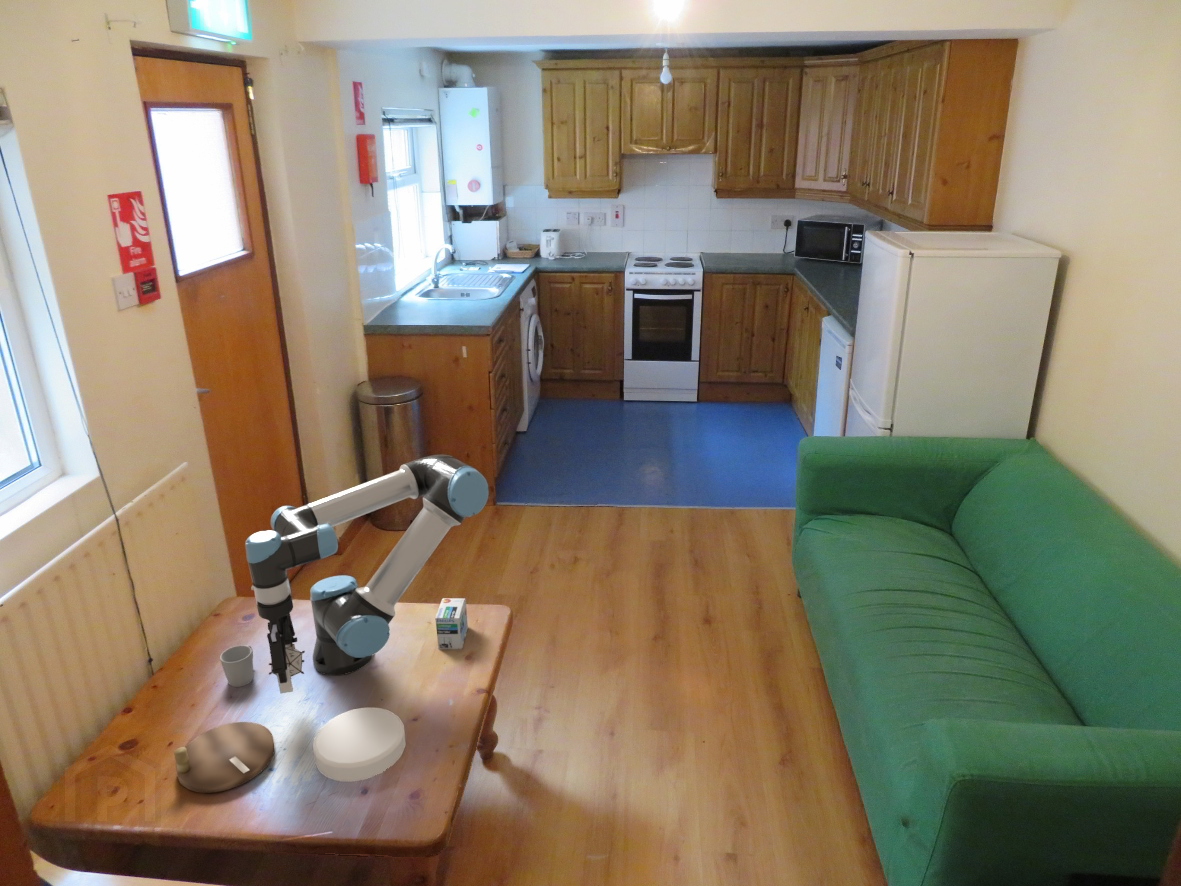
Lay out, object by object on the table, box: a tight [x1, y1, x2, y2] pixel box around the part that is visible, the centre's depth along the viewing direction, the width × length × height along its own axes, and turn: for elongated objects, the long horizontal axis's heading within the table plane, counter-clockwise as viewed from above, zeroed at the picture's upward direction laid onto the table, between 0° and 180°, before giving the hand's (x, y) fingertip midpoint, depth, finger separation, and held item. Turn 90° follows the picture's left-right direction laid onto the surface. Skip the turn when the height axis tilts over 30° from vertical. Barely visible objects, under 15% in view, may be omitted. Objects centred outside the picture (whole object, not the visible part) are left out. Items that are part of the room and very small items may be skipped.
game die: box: [268, 643, 306, 680], centre depth 192 cm, size 9×8×10 cm
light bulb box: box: [434, 597, 469, 650], centre depth 223 cm, size 11×7×11 cm, turn 179°
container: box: [312, 707, 406, 783], centre depth 184 cm, size 20×20×5 cm
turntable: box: [173, 721, 276, 794], centre depth 181 cm, size 20×20×7 cm
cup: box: [219, 644, 254, 688], centre depth 209 cm, size 8×10×8 cm
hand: (289, 679), depth 194 cm, fingers closed on game die, 8 cm apart
